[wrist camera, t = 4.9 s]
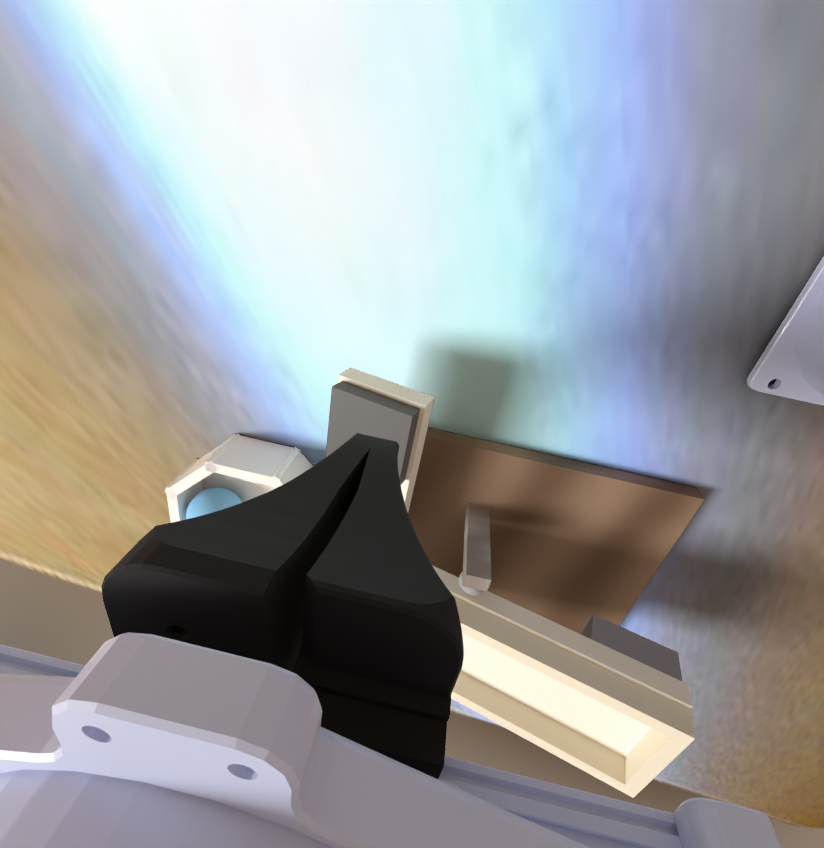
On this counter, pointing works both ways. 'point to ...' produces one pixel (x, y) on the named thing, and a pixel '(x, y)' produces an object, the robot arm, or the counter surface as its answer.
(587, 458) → the counter surface
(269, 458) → the cup
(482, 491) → the lever stand
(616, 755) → the tipping lever
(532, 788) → the robot arm
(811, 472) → the counter surface
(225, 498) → the ball
